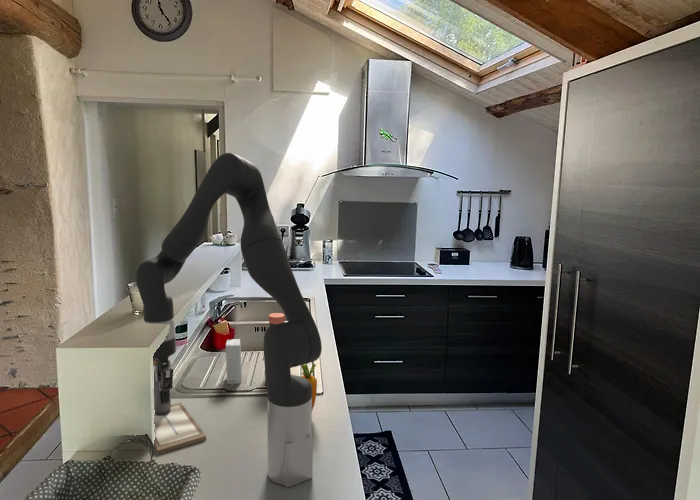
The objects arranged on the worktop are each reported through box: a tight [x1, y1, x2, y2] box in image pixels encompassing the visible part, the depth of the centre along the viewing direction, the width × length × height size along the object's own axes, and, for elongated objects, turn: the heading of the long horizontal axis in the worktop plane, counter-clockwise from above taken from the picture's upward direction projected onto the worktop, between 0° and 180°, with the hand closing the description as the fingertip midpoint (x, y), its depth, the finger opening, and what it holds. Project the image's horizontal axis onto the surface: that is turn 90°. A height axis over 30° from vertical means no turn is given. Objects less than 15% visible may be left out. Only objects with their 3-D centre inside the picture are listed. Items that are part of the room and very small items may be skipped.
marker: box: [153, 358, 172, 416], centre depth 124 cm, size 4×4×14 cm
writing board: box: [153, 402, 207, 455], centre depth 119 cm, size 20×11×2 cm, turn 36°
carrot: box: [300, 363, 318, 411], centre depth 125 cm, size 5×5×15 cm
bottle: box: [268, 312, 286, 326], centre depth 149 cm, size 7×7×20 cm
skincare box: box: [225, 338, 243, 385], centre depth 147 cm, size 6×4×12 cm
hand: (162, 398), depth 124 cm, fingers open, 4 cm apart
